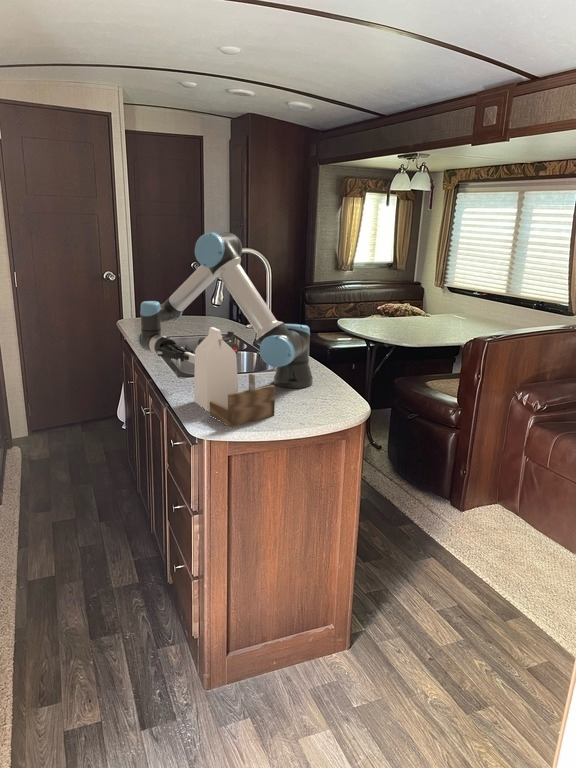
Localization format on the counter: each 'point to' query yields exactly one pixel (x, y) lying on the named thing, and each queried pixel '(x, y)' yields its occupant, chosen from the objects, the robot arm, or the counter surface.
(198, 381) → the milk
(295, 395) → the counter surface
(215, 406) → the bracket
